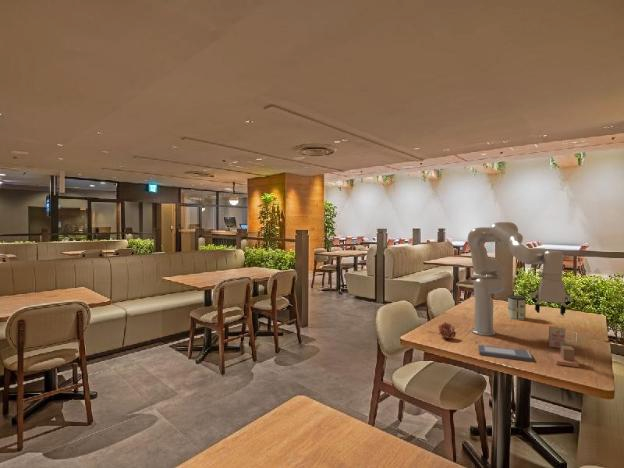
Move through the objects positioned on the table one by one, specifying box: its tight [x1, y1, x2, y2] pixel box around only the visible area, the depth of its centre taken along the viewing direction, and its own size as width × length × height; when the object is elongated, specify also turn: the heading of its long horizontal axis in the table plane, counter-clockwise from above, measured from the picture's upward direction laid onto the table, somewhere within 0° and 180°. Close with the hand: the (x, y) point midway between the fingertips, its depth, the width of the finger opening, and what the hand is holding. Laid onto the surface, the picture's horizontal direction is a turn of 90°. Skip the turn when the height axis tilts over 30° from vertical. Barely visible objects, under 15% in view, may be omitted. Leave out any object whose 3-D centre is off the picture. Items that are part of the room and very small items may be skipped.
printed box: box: [548, 326, 566, 349], centre depth 182 cm, size 4×7×10 cm, turn 54°
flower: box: [438, 321, 457, 340], centre depth 195 cm, size 10×9×8 cm
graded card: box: [565, 330, 578, 343], centre depth 200 cm, size 11×1×18 cm
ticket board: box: [477, 344, 534, 363], centre depth 172 cm, size 10×22×2 cm, turn 68°
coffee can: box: [507, 294, 527, 321], centre depth 235 cm, size 10×10×14 cm
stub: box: [551, 345, 580, 368], centre depth 162 cm, size 10×8×6 cm
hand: (549, 313), depth 167 cm, fingers open, 9 cm apart
